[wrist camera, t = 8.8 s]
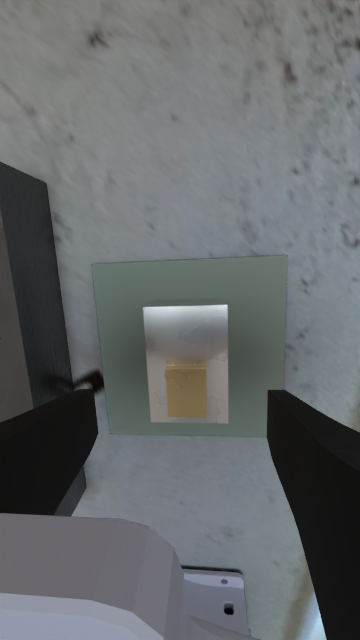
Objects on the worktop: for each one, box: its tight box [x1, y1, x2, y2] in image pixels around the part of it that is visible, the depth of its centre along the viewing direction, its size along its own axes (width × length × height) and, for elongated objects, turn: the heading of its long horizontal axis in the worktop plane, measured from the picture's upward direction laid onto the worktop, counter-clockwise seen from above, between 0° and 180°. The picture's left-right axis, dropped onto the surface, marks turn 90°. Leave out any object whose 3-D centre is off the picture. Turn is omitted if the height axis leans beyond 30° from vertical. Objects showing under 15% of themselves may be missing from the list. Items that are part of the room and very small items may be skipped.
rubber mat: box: [91, 255, 288, 437], centre depth 19 cm, size 12×12×1 cm
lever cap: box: [143, 299, 228, 423], centre depth 17 cm, size 5×7×3 cm, turn 3°
